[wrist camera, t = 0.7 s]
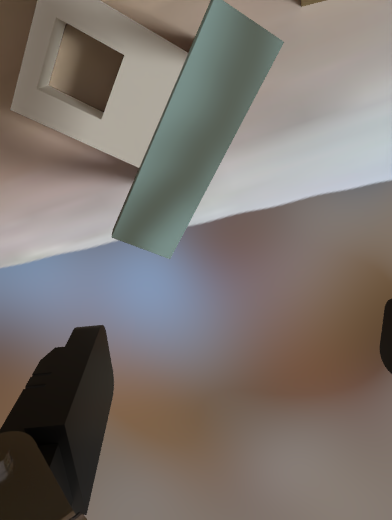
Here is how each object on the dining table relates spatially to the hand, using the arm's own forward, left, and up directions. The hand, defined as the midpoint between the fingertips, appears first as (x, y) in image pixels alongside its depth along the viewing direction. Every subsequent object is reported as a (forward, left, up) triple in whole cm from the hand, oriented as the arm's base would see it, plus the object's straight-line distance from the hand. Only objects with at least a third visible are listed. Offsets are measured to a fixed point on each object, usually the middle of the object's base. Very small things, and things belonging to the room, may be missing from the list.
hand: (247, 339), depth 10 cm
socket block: (-7, +2, -28) cm, 29 cm away
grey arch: (-2, +2, -28) cm, 29 cm away
